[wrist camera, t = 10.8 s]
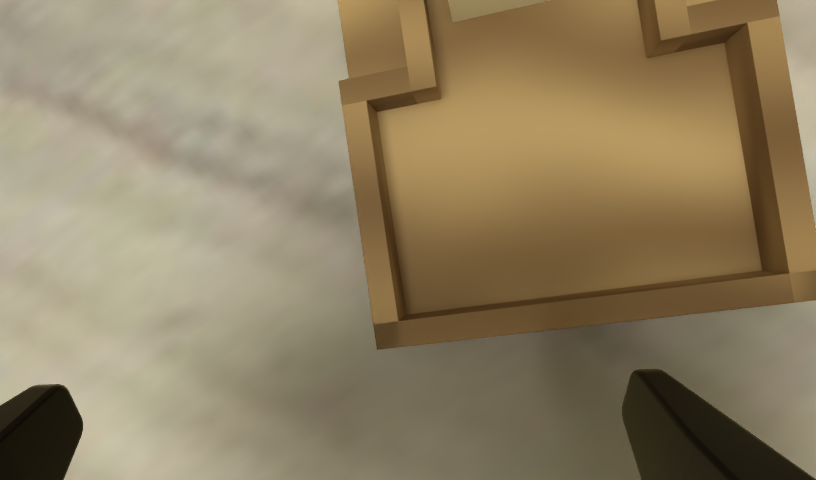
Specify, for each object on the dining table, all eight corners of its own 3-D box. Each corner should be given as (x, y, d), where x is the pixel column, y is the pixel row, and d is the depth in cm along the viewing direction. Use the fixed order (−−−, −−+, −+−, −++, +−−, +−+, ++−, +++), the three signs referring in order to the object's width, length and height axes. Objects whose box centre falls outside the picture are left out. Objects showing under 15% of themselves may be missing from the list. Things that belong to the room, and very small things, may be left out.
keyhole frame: (788, 292, 15) (827, 299, 13) (389, 338, 17) (377, 349, 16) (696, -263, 16) (721, -327, 14) (319, -149, 18) (299, -192, 16)
